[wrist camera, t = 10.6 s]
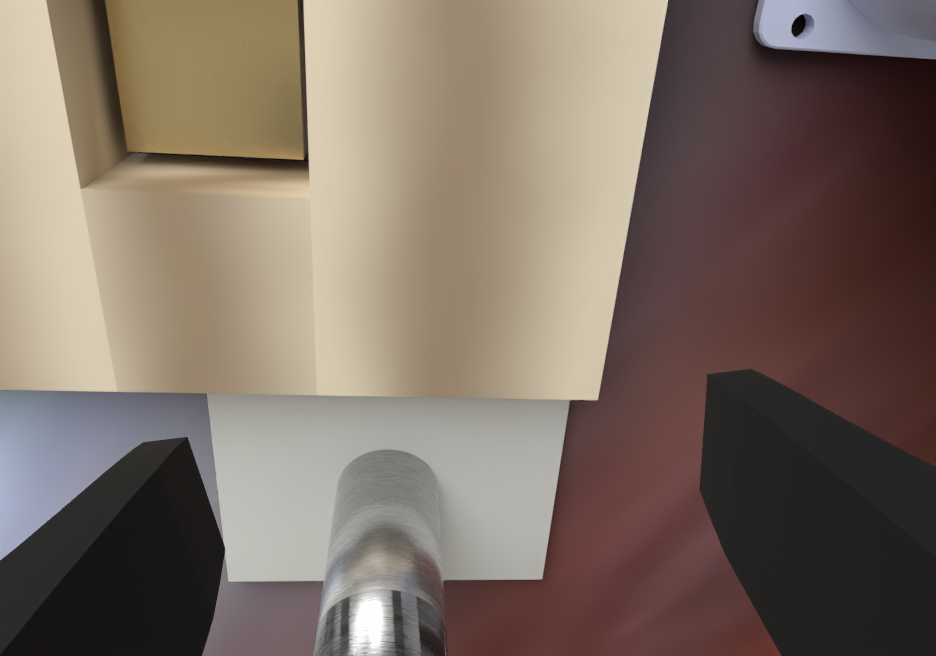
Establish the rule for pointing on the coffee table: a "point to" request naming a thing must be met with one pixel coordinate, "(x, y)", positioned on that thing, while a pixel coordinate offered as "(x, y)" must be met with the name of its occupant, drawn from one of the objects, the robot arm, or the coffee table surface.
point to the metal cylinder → (384, 561)
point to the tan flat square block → (211, 76)
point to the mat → (378, 428)
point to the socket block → (332, 209)
